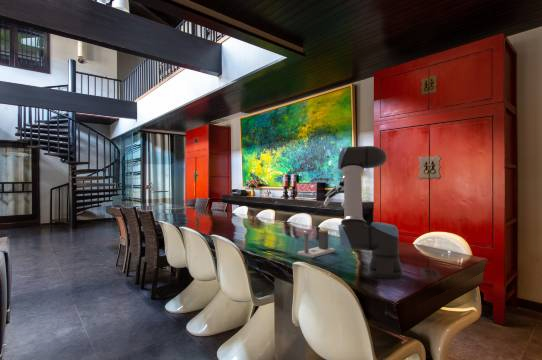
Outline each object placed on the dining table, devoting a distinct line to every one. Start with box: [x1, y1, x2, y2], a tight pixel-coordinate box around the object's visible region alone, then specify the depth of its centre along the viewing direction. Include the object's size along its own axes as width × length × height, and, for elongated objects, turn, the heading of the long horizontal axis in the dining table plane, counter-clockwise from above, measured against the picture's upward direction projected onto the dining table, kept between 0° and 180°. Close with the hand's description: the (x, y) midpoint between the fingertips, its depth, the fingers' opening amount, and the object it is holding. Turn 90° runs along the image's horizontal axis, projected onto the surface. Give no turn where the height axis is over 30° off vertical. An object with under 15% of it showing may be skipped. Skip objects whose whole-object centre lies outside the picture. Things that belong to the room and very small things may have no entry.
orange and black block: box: [318, 228, 329, 249], centre depth 180 cm, size 4×4×11 cm
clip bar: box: [292, 227, 310, 235], centre depth 176 cm, size 17×3×2 cm, turn 22°
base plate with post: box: [297, 234, 336, 259], centre depth 175 cm, size 21×11×13 cm, turn 132°
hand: (333, 205), depth 187 cm, fingers open, 13 cm apart
